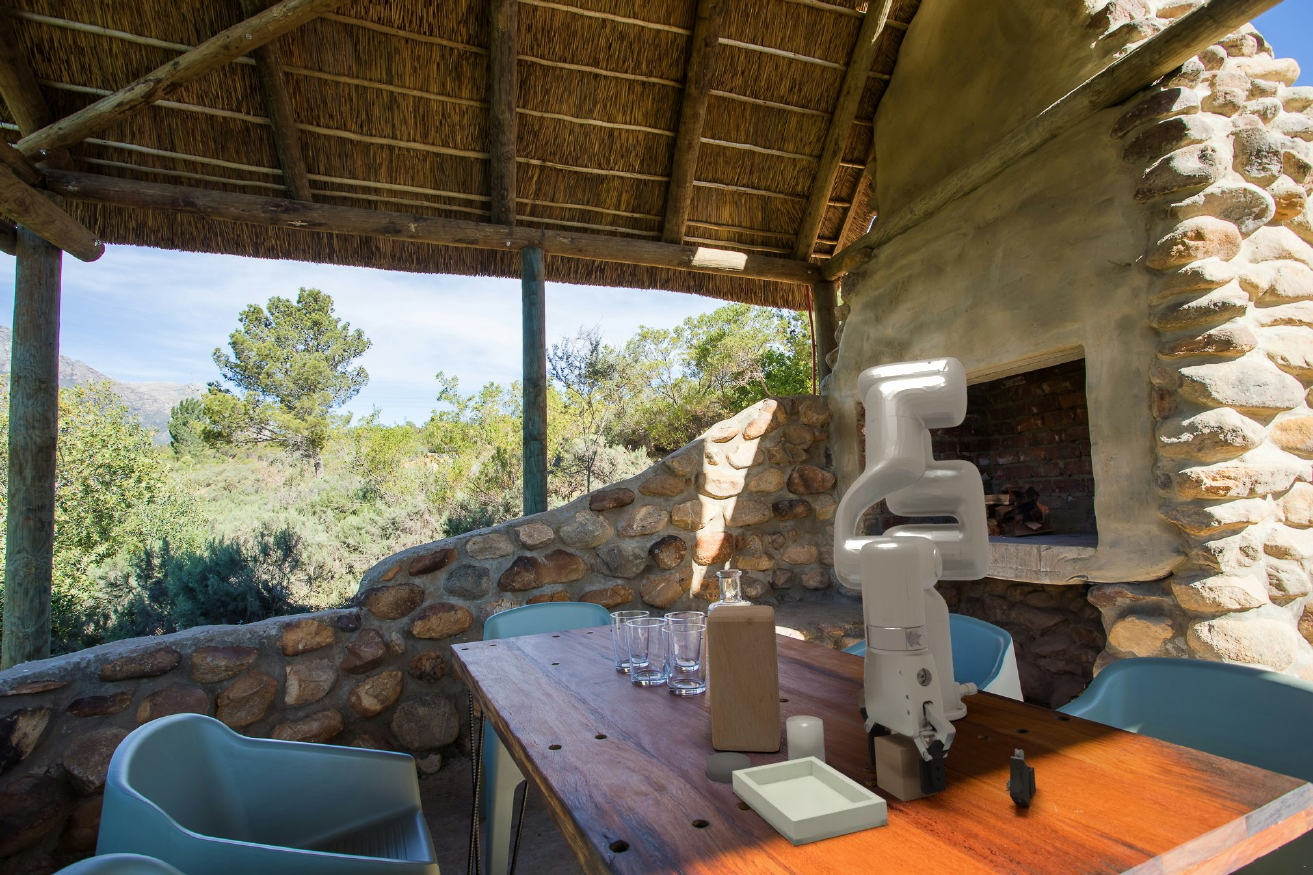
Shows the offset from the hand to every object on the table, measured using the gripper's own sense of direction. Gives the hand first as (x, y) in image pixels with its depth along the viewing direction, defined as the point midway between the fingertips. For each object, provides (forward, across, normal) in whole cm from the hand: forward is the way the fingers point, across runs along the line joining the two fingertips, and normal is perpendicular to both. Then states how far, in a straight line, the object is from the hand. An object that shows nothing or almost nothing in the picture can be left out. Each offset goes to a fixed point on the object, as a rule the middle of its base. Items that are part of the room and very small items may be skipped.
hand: (905, 776), depth 84 cm
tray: (+2, +1, +14) cm, 14 cm away
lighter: (+2, -8, -10) cm, 13 cm away
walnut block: (+2, 0, 0) cm, 2 cm away
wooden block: (+2, +24, +10) cm, 26 cm away
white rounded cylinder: (+2, +12, +7) cm, 14 cm away
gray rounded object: (+2, +14, +18) cm, 23 cm away
